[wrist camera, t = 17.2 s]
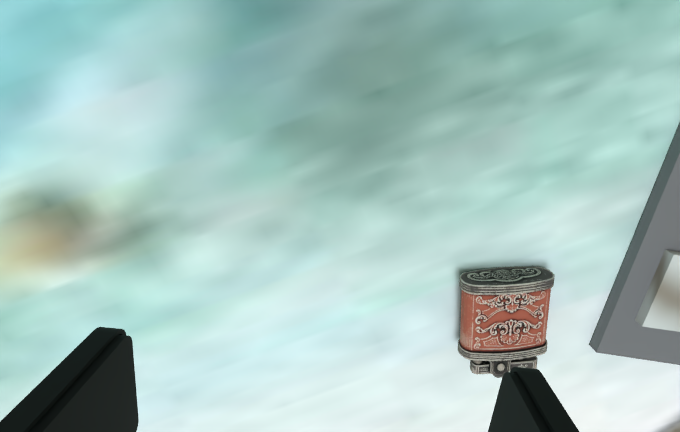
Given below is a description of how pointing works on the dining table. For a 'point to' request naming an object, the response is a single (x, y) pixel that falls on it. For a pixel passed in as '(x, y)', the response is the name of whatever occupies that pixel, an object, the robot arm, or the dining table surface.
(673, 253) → the turner
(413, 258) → the dining table surface
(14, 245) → the dining table surface
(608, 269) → the dining table surface
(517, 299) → the lighter
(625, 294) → the mat
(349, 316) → the dining table surface
